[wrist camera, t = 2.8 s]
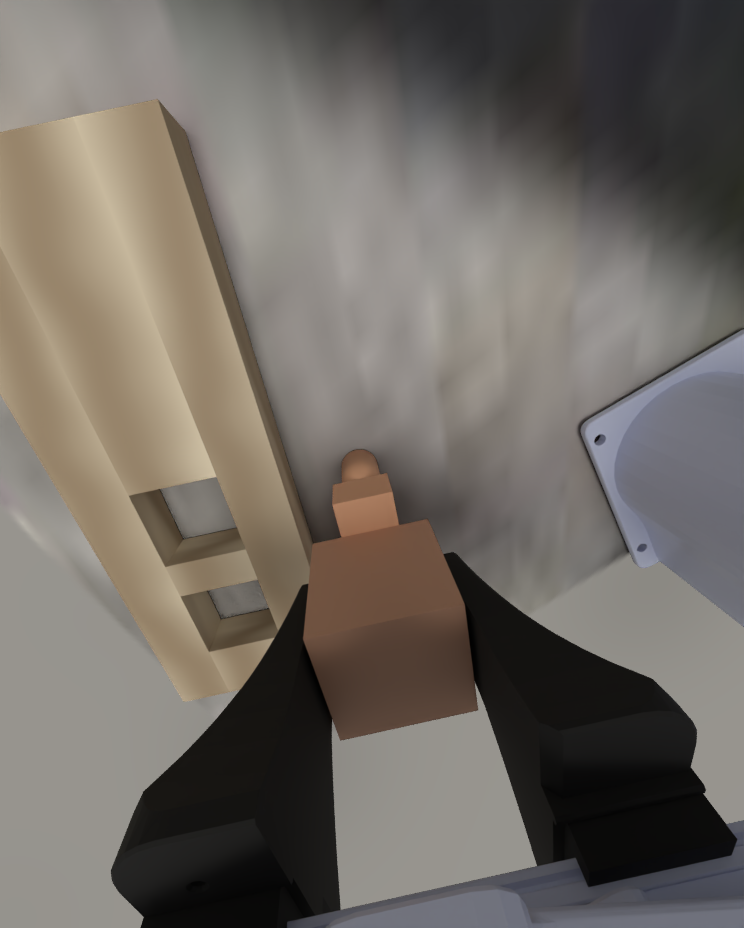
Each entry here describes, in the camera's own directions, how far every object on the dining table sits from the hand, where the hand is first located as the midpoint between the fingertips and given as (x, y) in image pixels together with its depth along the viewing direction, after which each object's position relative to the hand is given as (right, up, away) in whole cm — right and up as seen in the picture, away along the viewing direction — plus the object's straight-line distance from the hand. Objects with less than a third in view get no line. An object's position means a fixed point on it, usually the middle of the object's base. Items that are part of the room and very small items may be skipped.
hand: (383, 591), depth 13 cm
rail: (-8, +4, +3) cm, 10 cm away
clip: (0, +2, +5) cm, 5 cm away
